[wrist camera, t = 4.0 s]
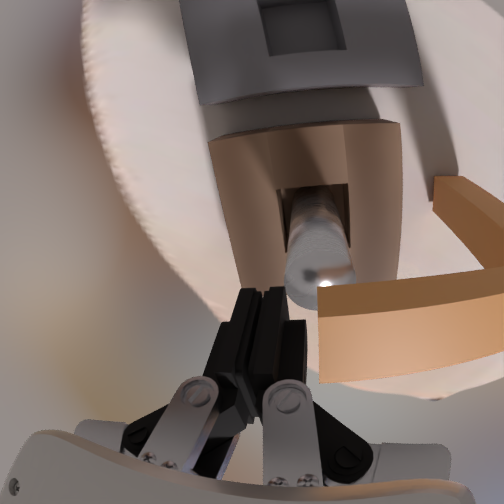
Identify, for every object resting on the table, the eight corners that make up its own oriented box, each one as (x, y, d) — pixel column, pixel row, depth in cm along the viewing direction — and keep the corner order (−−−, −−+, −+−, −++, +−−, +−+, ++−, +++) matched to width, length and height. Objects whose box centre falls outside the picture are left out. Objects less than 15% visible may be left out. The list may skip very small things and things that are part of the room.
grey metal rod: (333, 181, 19) (357, 248, 11) (335, 221, 21) (354, 308, 12) (289, 185, 20) (279, 253, 12) (294, 224, 22) (287, 312, 13)
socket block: (382, 119, 17) (399, 123, 14) (384, 259, 23) (395, 286, 19) (223, 134, 20) (207, 142, 16) (251, 269, 26) (243, 296, 22)
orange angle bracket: (462, 173, 17) (585, 271, 5) (459, 212, 19) (560, 328, 6) (308, 179, 20) (318, 317, 8) (312, 221, 22) (319, 383, 9)
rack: (378, -14, 11) (393, -33, 8) (402, 87, 16) (423, 85, 12) (197, 5, 14) (177, -11, 11) (217, 104, 19) (199, 105, 15)
